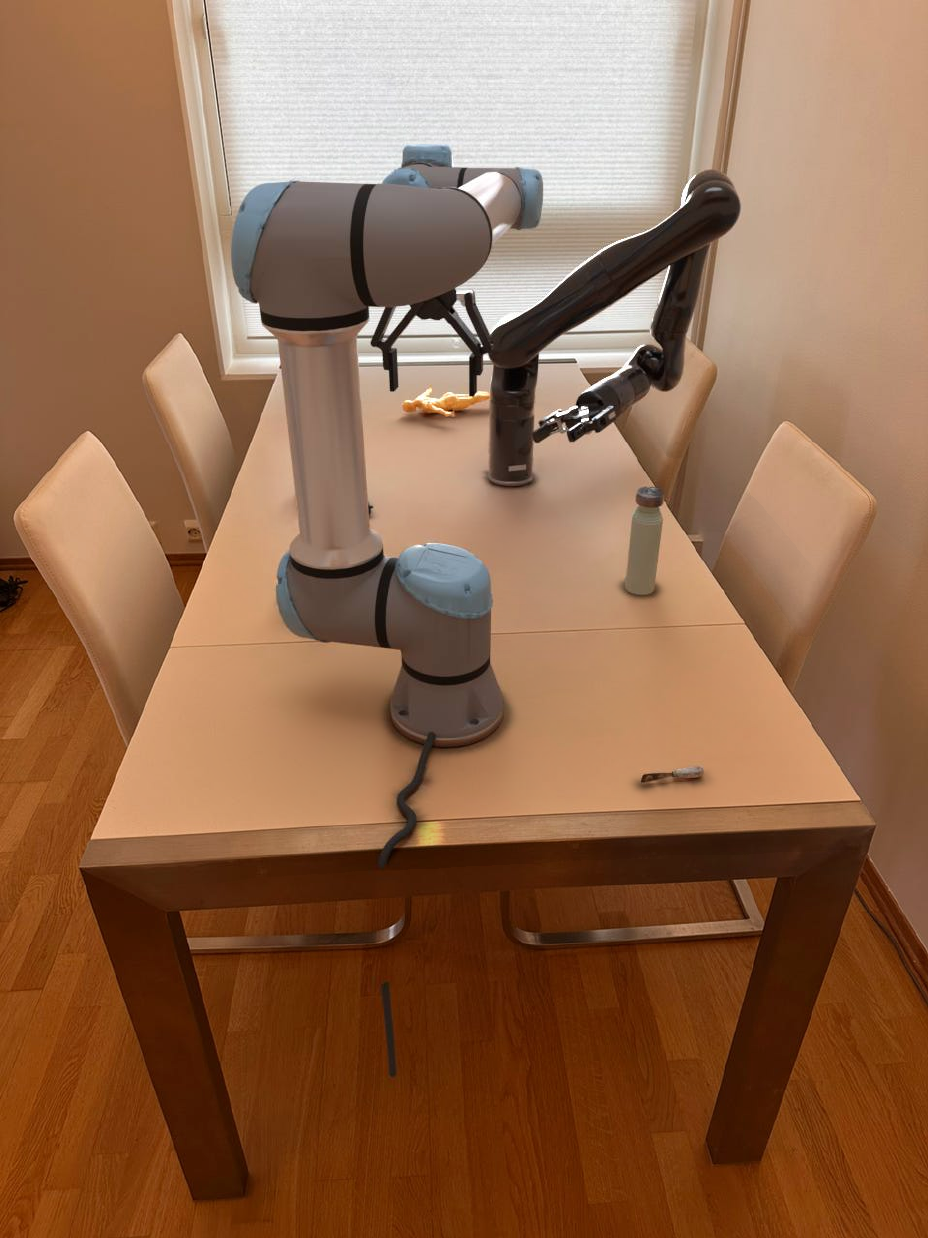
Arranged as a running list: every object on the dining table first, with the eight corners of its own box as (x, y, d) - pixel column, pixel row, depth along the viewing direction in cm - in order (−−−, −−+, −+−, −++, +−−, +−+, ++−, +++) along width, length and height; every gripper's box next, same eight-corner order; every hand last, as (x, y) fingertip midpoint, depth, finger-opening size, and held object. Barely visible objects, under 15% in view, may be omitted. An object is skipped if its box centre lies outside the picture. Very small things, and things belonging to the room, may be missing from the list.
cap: (665, 498, 142) (666, 488, 141) (660, 509, 139) (662, 499, 138) (638, 494, 143) (639, 484, 142) (633, 505, 140) (634, 495, 139)
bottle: (656, 583, 151) (668, 490, 142) (651, 597, 147) (663, 502, 138) (628, 578, 152) (637, 486, 143) (622, 592, 148) (631, 498, 139)
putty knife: (703, 777, 109) (705, 767, 109) (642, 788, 108) (644, 777, 107) (700, 772, 110) (702, 762, 109) (639, 782, 109) (640, 771, 108)
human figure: (395, 413, 223) (394, 398, 221) (438, 390, 237) (438, 375, 235) (462, 429, 215) (462, 413, 213) (502, 404, 229) (503, 388, 227)
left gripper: (513, 255, 139) (510, 389, 150) (360, 249, 144) (368, 380, 155) (505, 264, 133) (502, 403, 144) (345, 258, 137) (355, 393, 149)
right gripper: (572, 384, 171) (517, 419, 163) (631, 379, 160) (575, 416, 152) (582, 421, 174) (529, 457, 166) (641, 418, 164) (587, 457, 155)
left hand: (433, 391), depth 149 cm, fingers open, 13 cm apart
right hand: (551, 437), depth 159 cm, fingers open, 8 cm apart
